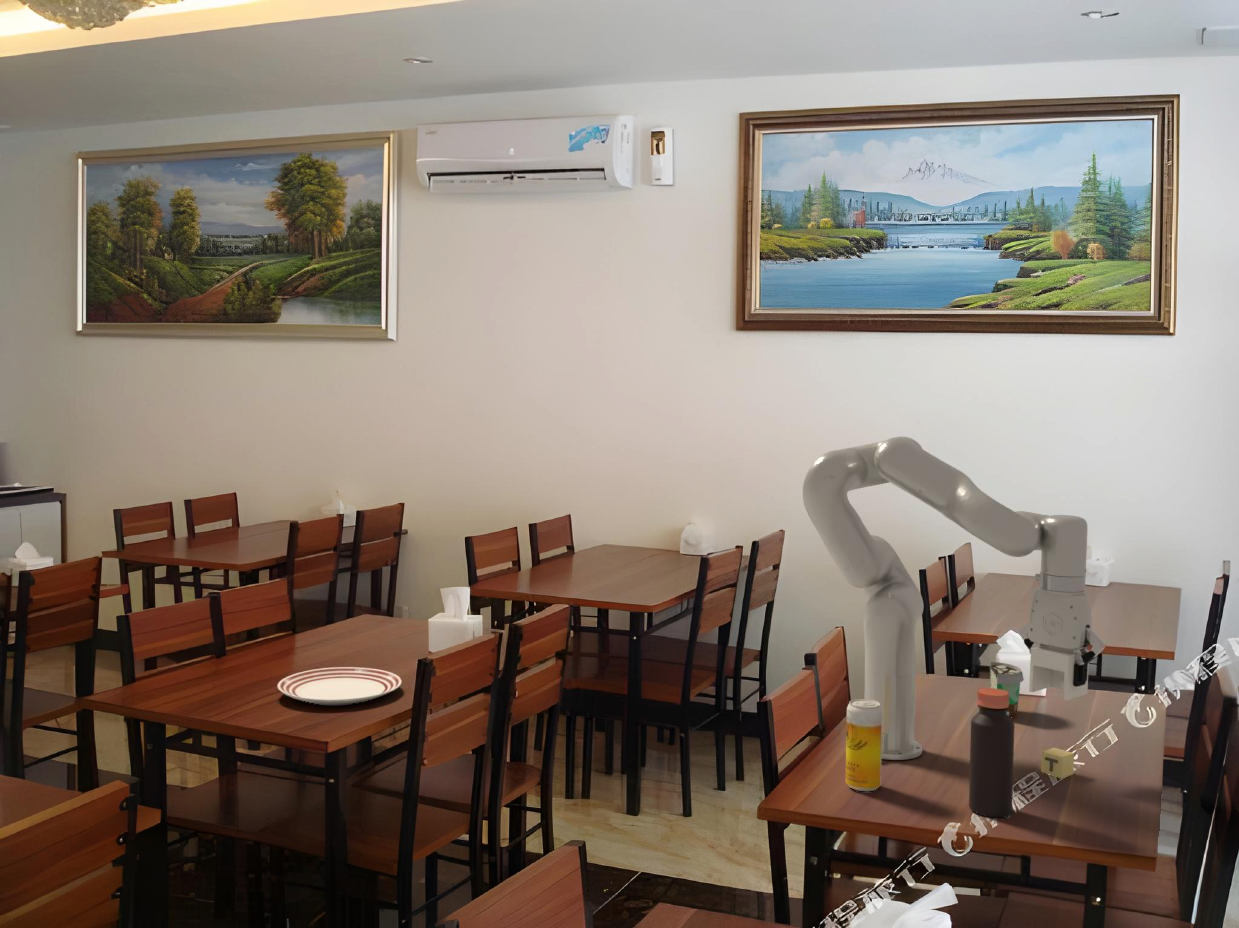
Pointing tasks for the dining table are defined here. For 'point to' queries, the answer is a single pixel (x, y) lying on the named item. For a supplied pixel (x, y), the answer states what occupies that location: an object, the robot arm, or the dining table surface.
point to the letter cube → (1057, 762)
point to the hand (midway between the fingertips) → (1058, 679)
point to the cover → (1054, 671)
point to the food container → (1007, 683)
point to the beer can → (863, 744)
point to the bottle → (991, 755)
